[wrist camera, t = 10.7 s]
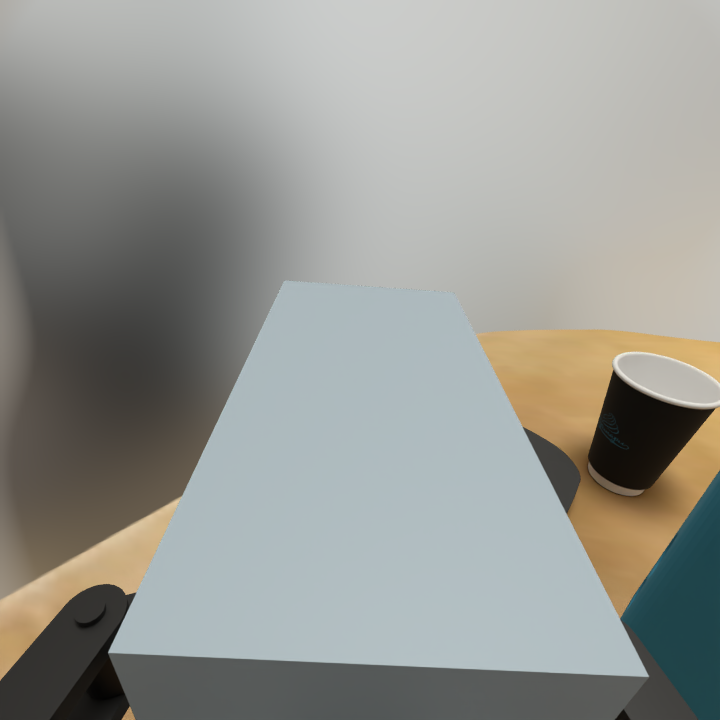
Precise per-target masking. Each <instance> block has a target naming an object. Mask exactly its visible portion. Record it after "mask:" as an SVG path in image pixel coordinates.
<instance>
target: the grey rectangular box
mask: <svg viewBox="0 0 720 720" xmlns="http://www.w3.org/2000/svg"><path fill="white" fill-rule="evenodd" d="M108 654H109V656H110V659H111V661H112V664H113V666H114V668H115V671H116V673H117V676H118V678H119V681H120V683H121V685H122V688H123V690H124V693H125V695H126V697H127V700H128V702H129V705H130V707H131V709H132V712H133V714H134V717H135V719H136V720H615V719H616V718H617V716H618V715H619V714H620V713H621V711H622V710H623V709H624V708H625V706H626V705H627V704H628V703H629V701H630V700H631V699H632V698H633V696H634V695H635V694H636V693H637V692H638V690H639V689H640V688H641V687H642V685H643V684H644V683H645V682H646V680H647V679H648V678H649V676H648V674H647V672H646V670H645V668H644V666H643V664H642V662H641V660H640V658H639V656H638V654H637V652H636V650H635V648H634V646H633V644H632V642H631V640H630V638H629V636H628V634H627V632H626V630H625V628H624V626H623V624H622V622H621V620H620V618H619V616H618V614H617V613H616V611H615V609H614V607H613V605H612V603H611V601H610V599H609V597H608V595H607V593H606V591H605V589H604V587H603V585H602V583H601V581H600V579H599V577H598V575H597V573H596V571H595V569H594V567H593V565H592V563H591V561H590V559H589V557H588V555H587V553H586V551H585V549H584V547H583V545H582V543H581V542H580V540H579V538H578V536H577V534H576V532H575V530H574V528H573V526H572V524H571V522H570V520H569V518H568V516H567V514H566V512H565V510H564V508H563V506H562V504H561V502H560V500H559V498H558V496H557V494H556V492H555V490H554V488H553V486H552V484H551V482H550V480H549V478H548V476H547V474H546V472H545V471H544V469H543V467H542V465H541V463H540V461H539V459H538V457H537V455H536V453H535V451H534V449H533V447H532V445H531V443H530V441H529V439H528V437H527V435H526V433H525V431H524V429H523V427H522V425H521V423H520V421H519V419H518V417H517V415H516V413H515V411H514V409H513V407H512V405H511V403H510V401H509V400H508V398H507V396H506V394H505V392H504V390H503V388H502V386H501V384H500V382H499V380H498V378H497V376H496V374H495V372H494V370H493V368H492V366H491V364H490V362H489V360H488V358H487V356H486V354H485V352H484V350H483V348H482V346H481V344H480V342H479V340H478V338H477V336H476V334H475V333H474V330H473V329H472V327H471V325H470V323H469V321H468V319H467V317H466V315H465V313H464V311H463V309H462V307H461V305H460V303H459V301H458V299H457V297H456V295H455V293H453V292H439V291H426V290H410V289H396V288H383V287H369V286H354V285H341V284H326V283H312V282H298V281H284V283H283V285H282V287H281V289H280V291H279V293H278V295H277V297H276V300H275V302H274V304H273V306H272V308H271V310H270V312H269V314H268V316H267V319H266V321H265V323H264V325H263V327H262V329H261V331H260V333H259V335H258V337H257V340H256V342H255V344H254V346H253V348H252V350H251V352H250V355H249V356H248V359H247V361H246V363H245V365H244V367H243V369H242V371H241V373H240V375H239V378H238V380H237V382H236V384H235V386H234V388H233V390H232V392H231V394H230V396H229V399H228V401H227V403H226V405H225V407H224V409H223V411H222V413H221V415H220V418H219V420H218V422H217V424H216V426H215V428H214V430H213V433H212V435H211V437H210V439H209V441H208V443H207V445H206V447H205V449H204V451H203V453H202V456H201V458H200V460H199V462H198V464H197V466H196V468H195V470H194V472H193V475H192V477H191V479H190V481H189V483H188V485H187V487H186V489H185V491H184V494H183V496H182V498H181V500H180V502H179V504H178V506H177V508H176V510H175V513H174V515H173V517H172V519H171V521H170V523H169V525H168V527H167V529H166V532H165V534H164V536H163V538H162V540H161V542H160V544H159V546H158V548H157V551H156V553H155V555H154V557H153V559H152V561H151V563H150V565H149V567H148V569H147V572H146V574H145V576H144V578H143V580H142V582H141V584H140V586H139V588H138V591H137V593H136V595H135V597H134V599H133V601H132V603H131V605H130V607H129V610H128V612H127V614H126V616H125V618H124V620H123V622H122V624H121V626H120V629H119V631H118V633H117V635H116V637H115V639H114V641H113V643H112V645H111V648H110V650H109V652H108Z"/></svg>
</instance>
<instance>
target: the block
mask: <svg viewBox="0 0 720 720" xmlns="http://www.w3.org/2000/svg"><path fill="white" fill-rule="evenodd" d="M620 619H621V620H622V621H623V622H625V623H626V624H627V625H628V626H629V627H630V628H631V629H632V630H633V632H634V633H635V634H636V635H637V637H638V638H639V639H640V641H641V642H642V643H643V645H644V646H645V648H646V649H647V650H648V652H649V653H650V654H651V656H652V657H653V658H654V660H655V661H656V662H657V664H658V665H659V667H660V668H661V669H662V671H663V672H664V673H665V675H666V676H667V677H668V679H669V680H670V681H671V683H672V684H673V686H674V687H675V688H676V690H677V691H678V692H679V694H680V695H681V696H682V698H683V699H684V701H685V702H686V703H687V705H688V706H689V707H690V709H691V710H692V711H693V713H694V714H695V715H696V717H697V718H698V720H720V471H719V472H718V474H717V475H716V477H715V478H714V479H713V481H712V482H711V484H710V485H709V487H708V488H707V490H706V491H705V493H704V494H703V495H702V497H701V498H700V500H699V501H698V503H697V504H696V506H695V507H694V509H693V510H692V512H691V513H690V514H689V516H688V517H687V519H686V520H685V522H684V523H683V525H682V526H681V528H680V529H679V530H678V532H677V533H676V535H675V536H674V538H673V539H672V541H671V542H670V544H669V545H668V547H667V548H666V549H665V551H664V552H663V554H662V555H661V557H660V558H659V560H658V561H657V563H656V564H655V565H654V567H653V568H652V570H651V571H650V573H649V574H648V576H647V577H646V579H645V580H644V581H643V583H642V584H641V586H640V587H639V589H638V590H637V592H636V593H635V595H634V596H633V598H632V600H631V601H630V603H629V605H628V606H627V608H626V610H625V612H624V613H623V615H622V617H621V618H620Z"/></svg>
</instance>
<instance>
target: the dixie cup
mask: <svg viewBox="0 0 720 720" xmlns="http://www.w3.org/2000/svg"><path fill="white" fill-rule="evenodd" d="M612 367H613V369H614V370H613V373H612V377H611V380H610V383H609V387H608V390H607V393H606V397H605V400H604V404H603V407H602V410H601V414H600V417H599V421H598V424H597V427H596V431H595V434H594V438H593V441H592V444H591V448H590V451H589V455H588V459H589V464H588V470H589V473H590V474H591V476H592V477H593V478H594V479H595V481H597V482H598V483H599V484H600V485H602V486H603V487H605V488H606V489H608V490H610V491H612V492H615V493H617V494H621V495H625V496H637V495H640V494H641V493H642V492H643V491H644V490H645V489H648V488H650V487H651V486H652V485H653V484H654V483H655V481H656V480H657V479H658V478H659V476H660V475H661V474H662V473H663V472H664V470H665V469H666V468H667V467H668V466H669V464H670V463H671V462H672V461H673V460H674V458H675V457H676V456H677V455H678V453H679V452H680V451H681V450H682V449H683V447H684V446H685V445H686V444H687V443H688V441H689V440H690V439H691V438H692V436H693V435H694V434H695V433H696V432H697V430H698V429H699V428H700V427H701V426H702V424H703V423H704V422H705V421H706V419H707V418H708V417H709V416H710V415H711V413H712V412H713V411H714V410H715V409H716V408H718V407H720V383H719V382H718V381H716V380H715V379H714V378H712V377H711V376H710V375H708V374H706V373H705V372H703V371H701V370H699V369H697V368H695V367H693V366H691V365H689V364H686V363H684V362H681V361H678V360H675V359H672V358H669V357H665V356H661V355H657V354H652V353H645V352H627V353H622V354H619V355H617V356H616V357H615V358H614V359H613V361H612Z"/></svg>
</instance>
